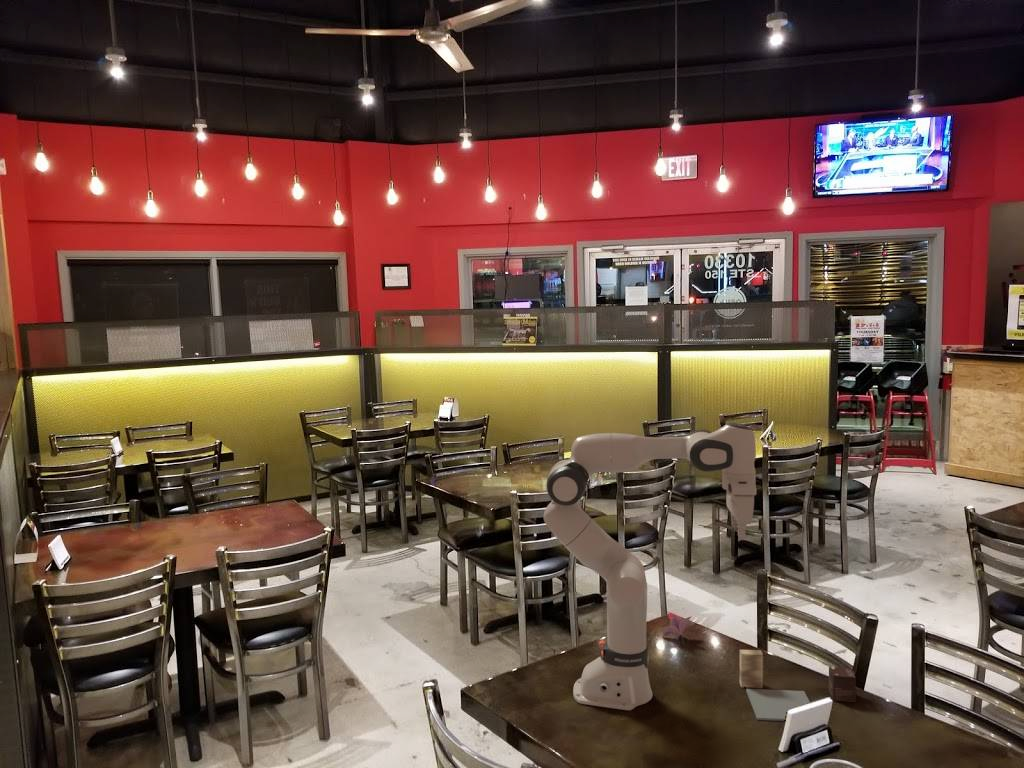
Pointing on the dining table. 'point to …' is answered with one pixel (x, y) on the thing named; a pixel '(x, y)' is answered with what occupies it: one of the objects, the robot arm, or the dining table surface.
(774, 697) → the placemat
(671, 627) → the lily
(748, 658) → the birch slab
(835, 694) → the box
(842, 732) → the dining table surface
